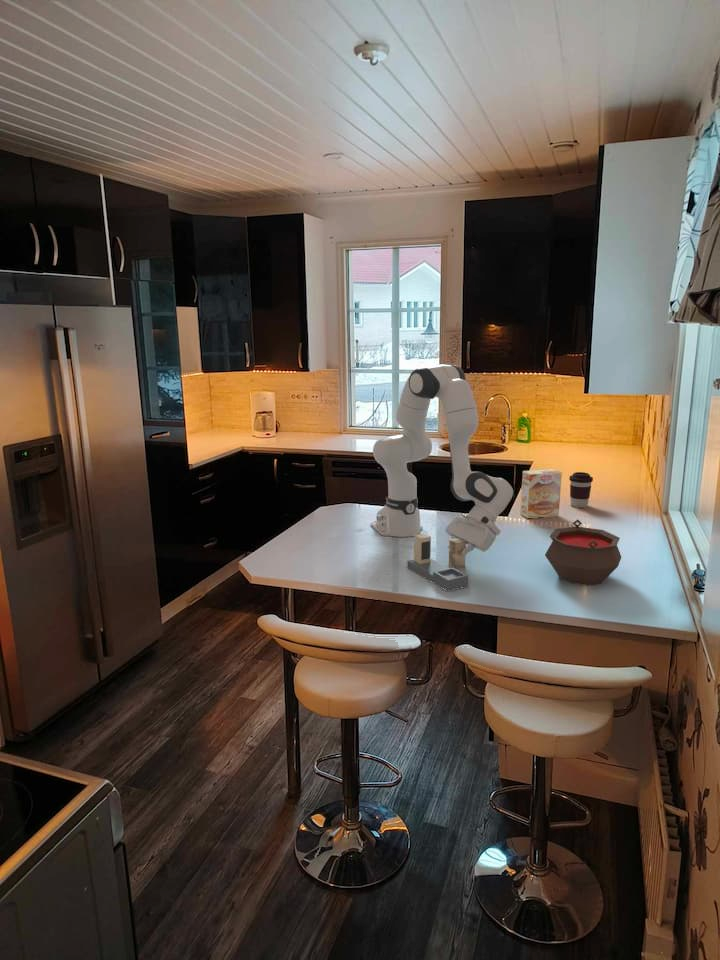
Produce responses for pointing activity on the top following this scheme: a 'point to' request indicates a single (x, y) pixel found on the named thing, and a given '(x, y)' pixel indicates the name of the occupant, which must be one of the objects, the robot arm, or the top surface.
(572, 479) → the coffee cup
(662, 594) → the top surface
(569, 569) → the brown cauldron
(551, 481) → the coffeecake box
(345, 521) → the top surface
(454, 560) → the block
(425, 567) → the grey block holder
